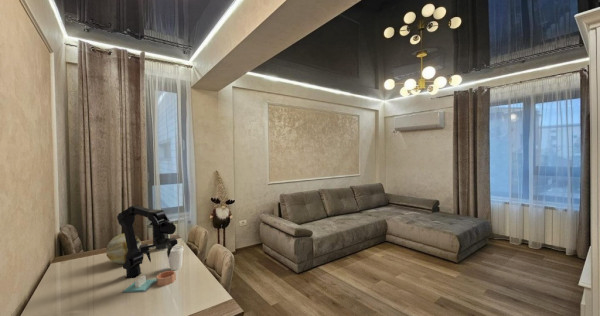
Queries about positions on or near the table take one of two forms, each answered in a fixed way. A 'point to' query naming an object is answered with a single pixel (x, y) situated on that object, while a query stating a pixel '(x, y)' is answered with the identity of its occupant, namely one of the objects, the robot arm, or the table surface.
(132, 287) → the cover plate
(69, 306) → the table surface
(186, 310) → the table surface
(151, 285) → the mat
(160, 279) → the bowl
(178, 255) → the foam cup
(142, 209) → the robot arm
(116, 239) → the decorative sphere
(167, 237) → the coffee can
